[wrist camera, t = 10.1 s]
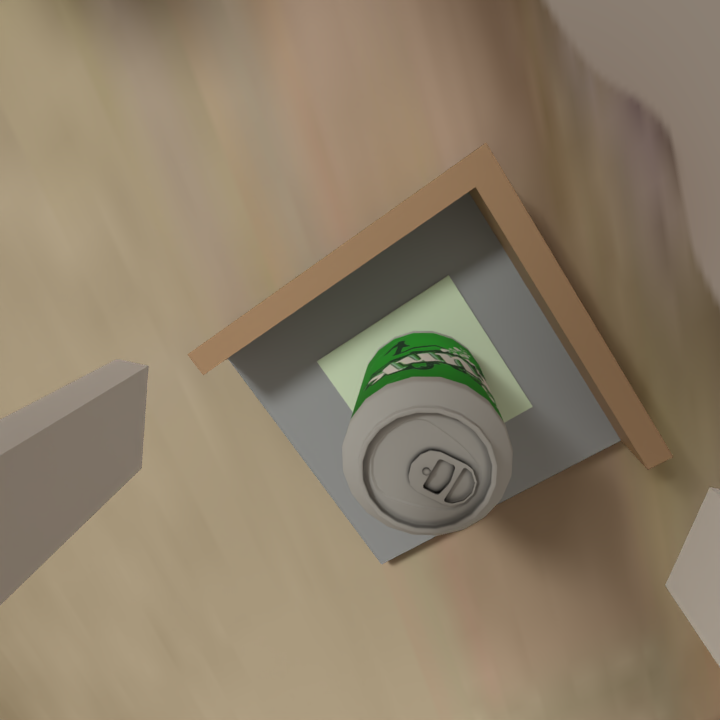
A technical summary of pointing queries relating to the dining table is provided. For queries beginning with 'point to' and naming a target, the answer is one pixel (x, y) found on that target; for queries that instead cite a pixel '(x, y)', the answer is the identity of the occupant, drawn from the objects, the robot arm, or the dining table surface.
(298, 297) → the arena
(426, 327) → the pad
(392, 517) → the soda can
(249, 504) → the dining table surface
